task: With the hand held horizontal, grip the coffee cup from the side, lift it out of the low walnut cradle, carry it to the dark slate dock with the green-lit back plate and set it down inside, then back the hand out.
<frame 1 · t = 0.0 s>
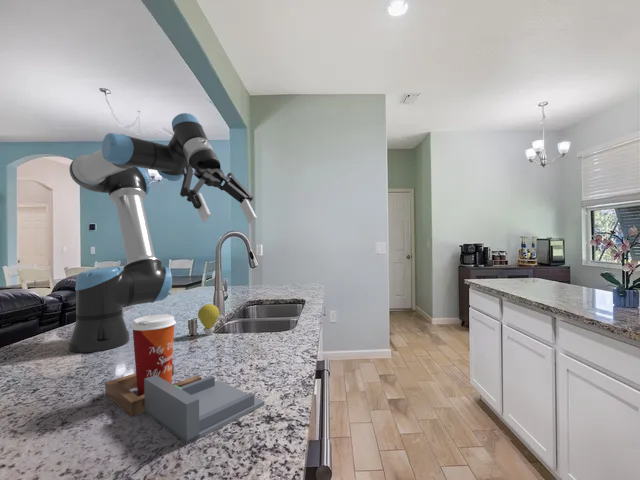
hand: (231, 219, 79), 36 cm above the worktop, tool tilted 35°, fingers open, 13 cm apart
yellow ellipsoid: (209, 334, 106), on the worktop
wooden u-shaped frame: (155, 391, 65), on the worktop
coffee cup: (155, 392, 65), resting in wooden u-shaped frame
port dock: (205, 408, 58), on the worktop
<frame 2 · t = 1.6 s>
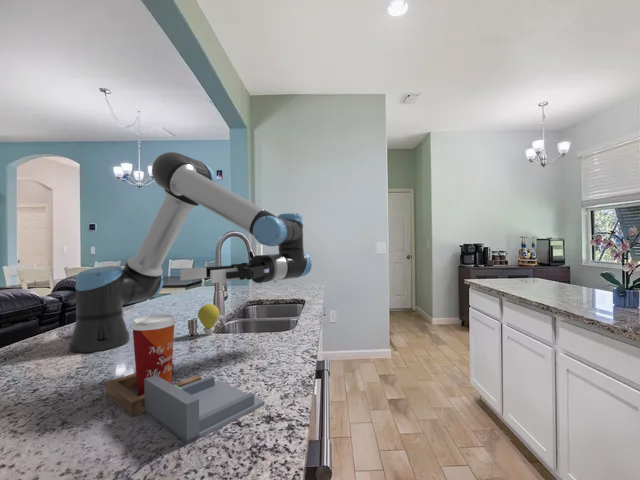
hand: (195, 275, 73), 23 cm above the worktop, tool horizontal, fingers open, 13 cm apart
nothing on the worktop moved.
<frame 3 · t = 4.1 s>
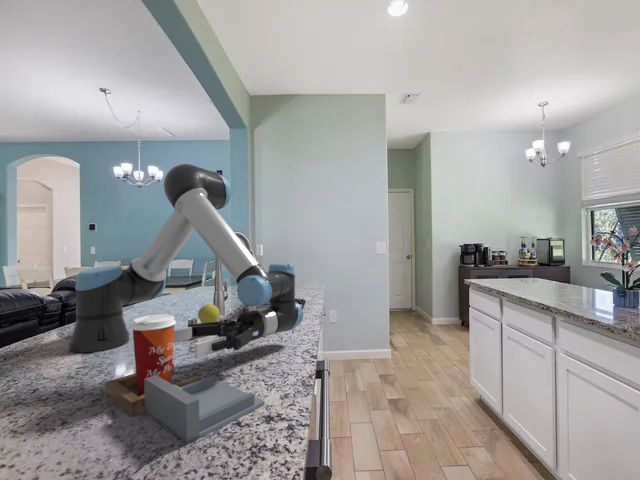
hand: (178, 344, 69), 8 cm above the worktop, tool horizontal, fingers open, 13 cm apart
nothing on the worktop moved.
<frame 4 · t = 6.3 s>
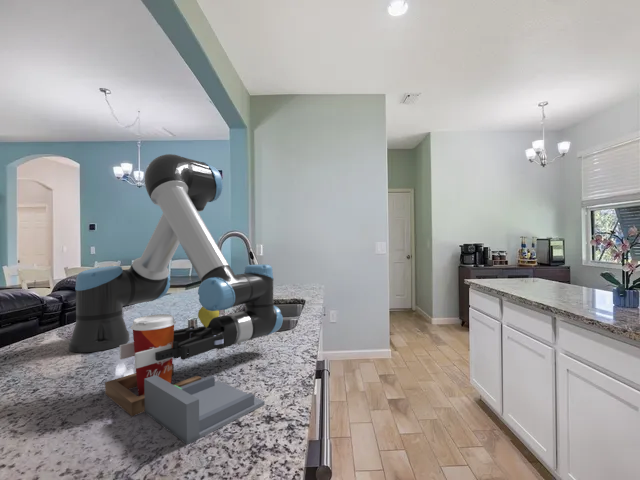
hand: (127, 356, 62), 9 cm above the worktop, tool horizontal, fingers closed on coffee cup, 7 cm apart
coffee cup: (155, 392, 65), resting in wooden u-shaped frame, touching gripper
everything else where it was.
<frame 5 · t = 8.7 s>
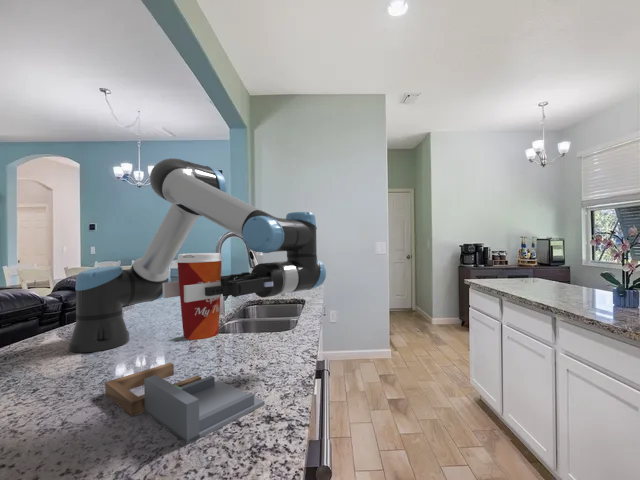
hand: (174, 292, 55), 22 cm above the worktop, tool horizontal, fingers closed on coffee cup, 7 cm apart
coffee cup: (201, 336, 59), point 13 cm above the worktop, touching gripper
everything else where it was.
when the fingers open (10 cm above the worktop, at t = 11.3 s): coffee cup moves 3 cm, resting on port dock.
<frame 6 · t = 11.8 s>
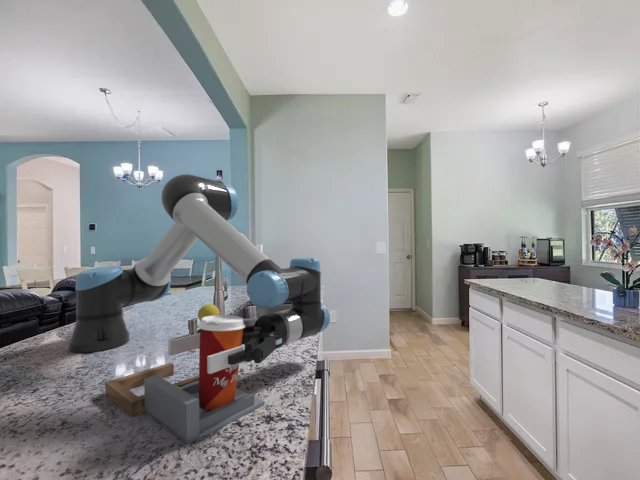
hand: (187, 356, 56), 10 cm above the worktop, tool horizontal, fingers open, 13 cm apart
coffee cup: (216, 404, 57), point 1 cm above the worktop, touching gripper, port dock
everything else where it was.
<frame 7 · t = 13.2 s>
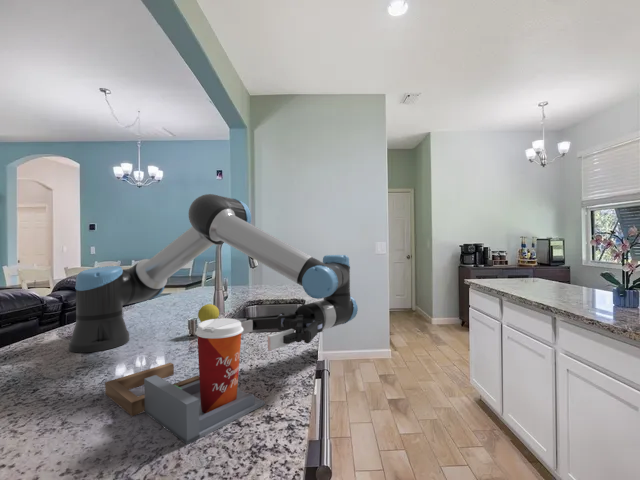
hand: (246, 337, 65), 11 cm above the worktop, tool horizontal, fingers open, 13 cm apart
coffee cup: (219, 407, 57), point 1 cm above the worktop, touching port dock
everything else where it was.
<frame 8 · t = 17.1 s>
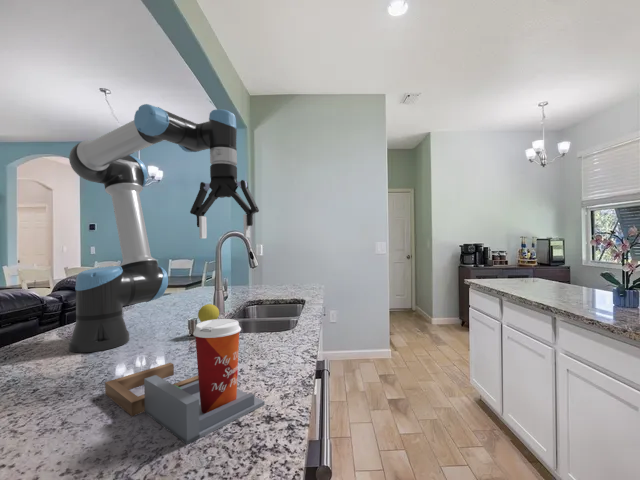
hand: (224, 238, 93), 32 cm above the worktop, tool pointing down, fingers open, 13 cm apart
nothing on the worktop moved.
at the end: coffee cup inside the target area on the port dock (2.8 cm from its centre), point 0.4 cm above the port dock's base; coffee cup tilted 0°; the gripper is holding nothing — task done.
